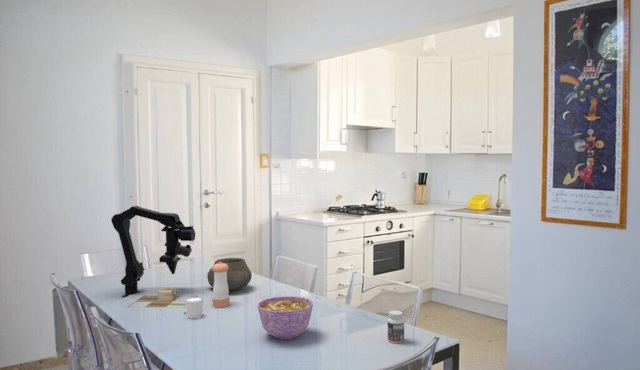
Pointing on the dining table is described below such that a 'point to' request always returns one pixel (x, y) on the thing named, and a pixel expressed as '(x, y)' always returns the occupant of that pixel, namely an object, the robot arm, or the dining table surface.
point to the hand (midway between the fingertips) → (173, 273)
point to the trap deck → (161, 302)
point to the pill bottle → (395, 327)
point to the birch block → (167, 294)
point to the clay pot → (233, 273)
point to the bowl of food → (285, 315)
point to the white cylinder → (194, 307)
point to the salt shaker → (220, 286)
